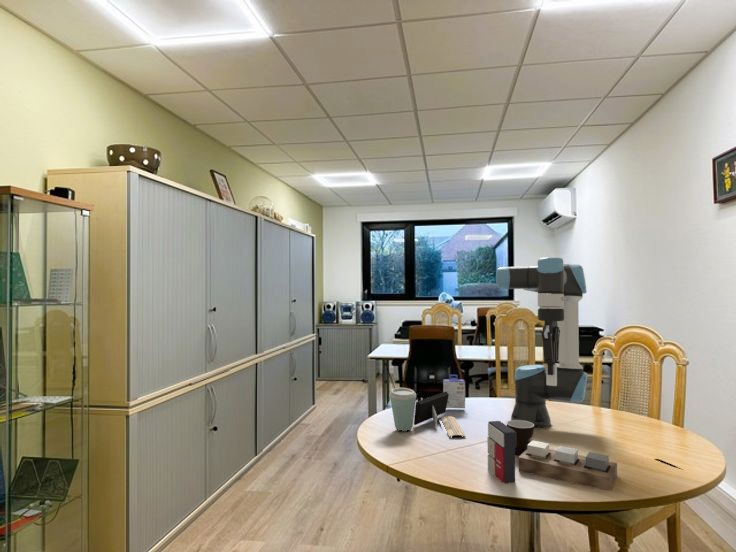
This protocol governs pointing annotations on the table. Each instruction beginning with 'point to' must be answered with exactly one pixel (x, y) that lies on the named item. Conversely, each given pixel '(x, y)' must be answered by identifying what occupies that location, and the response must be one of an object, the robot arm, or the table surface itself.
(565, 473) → the brown wooden block holder
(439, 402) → the picture frame
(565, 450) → the key grey
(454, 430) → the tan curved ridged slab
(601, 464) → the key charcoal
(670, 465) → the pen
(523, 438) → the coffee mug
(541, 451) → the key white
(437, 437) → the table surface
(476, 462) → the table surface
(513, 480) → the grey and red box
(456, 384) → the ink cartridge box
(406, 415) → the disposable coffee cup
